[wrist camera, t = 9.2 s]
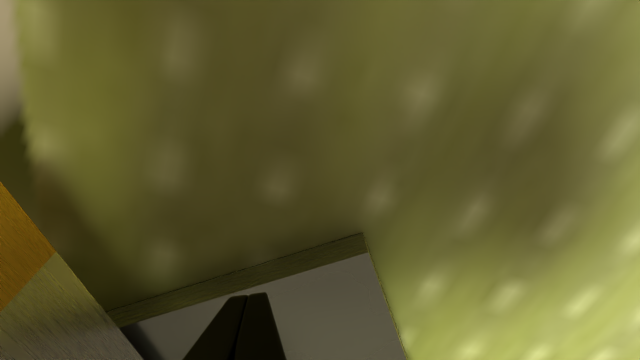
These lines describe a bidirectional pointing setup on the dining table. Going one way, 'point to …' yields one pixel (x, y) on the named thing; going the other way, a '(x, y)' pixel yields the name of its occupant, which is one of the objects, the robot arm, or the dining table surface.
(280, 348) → the robot arm
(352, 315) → the post base
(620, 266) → the dining table surface
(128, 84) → the dining table surface
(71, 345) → the square nut with handle
